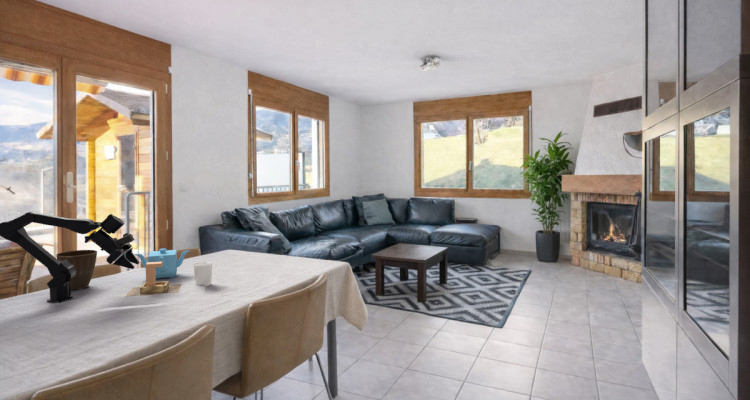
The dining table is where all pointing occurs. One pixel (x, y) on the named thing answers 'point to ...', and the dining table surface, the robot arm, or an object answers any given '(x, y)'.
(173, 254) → the teakettle
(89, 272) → the plant pot
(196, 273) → the white cup
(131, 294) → the brown tray
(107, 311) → the dining table surface
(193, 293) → the dining table surface
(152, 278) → the c link
